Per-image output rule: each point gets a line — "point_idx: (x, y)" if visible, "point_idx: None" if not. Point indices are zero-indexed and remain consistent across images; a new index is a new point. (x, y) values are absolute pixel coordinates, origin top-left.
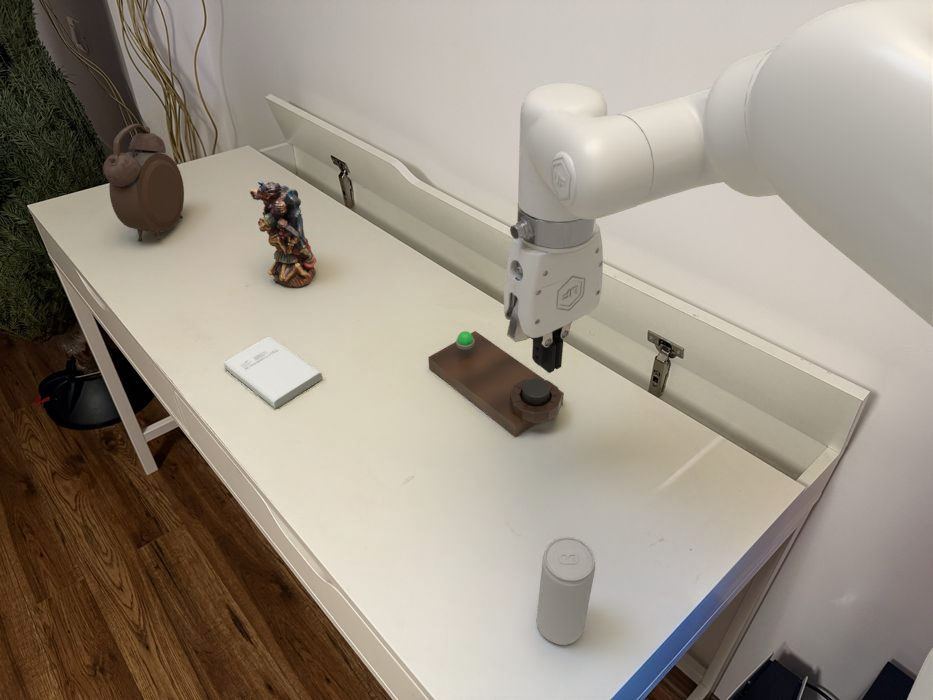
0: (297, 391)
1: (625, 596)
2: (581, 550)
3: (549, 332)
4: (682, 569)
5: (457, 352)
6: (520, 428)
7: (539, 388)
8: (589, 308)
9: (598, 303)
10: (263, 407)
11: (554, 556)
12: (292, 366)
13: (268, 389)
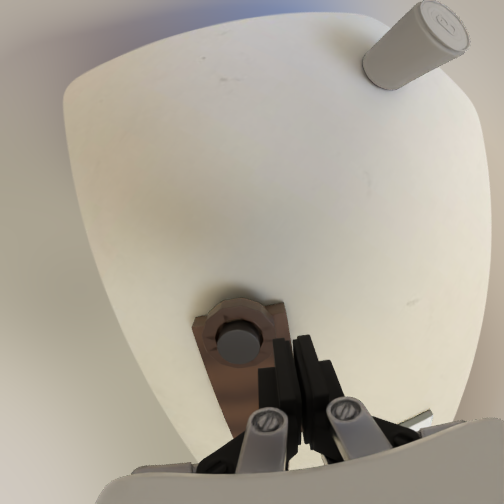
0: (411, 422)
1: (307, 52)
2: (430, 18)
3: (440, 437)
4: (230, 44)
5: None
6: (275, 308)
7: (235, 344)
8: (172, 499)
9: (113, 489)
10: (432, 412)
11: (459, 38)
12: None
13: (427, 426)
